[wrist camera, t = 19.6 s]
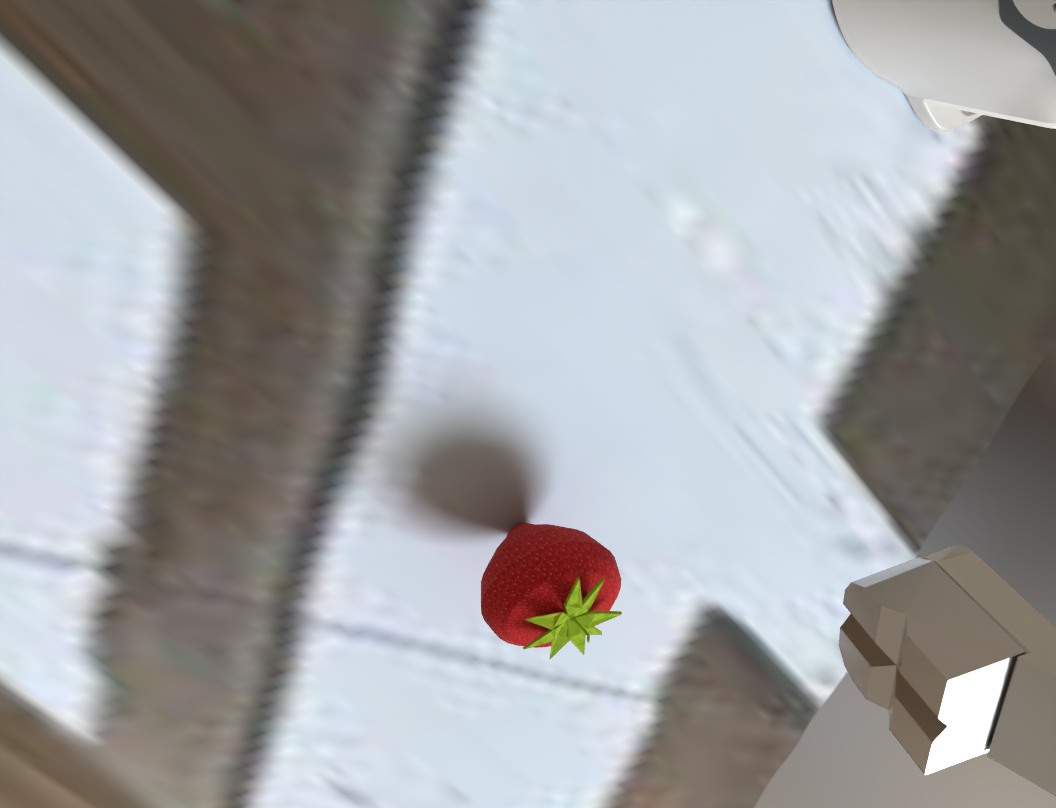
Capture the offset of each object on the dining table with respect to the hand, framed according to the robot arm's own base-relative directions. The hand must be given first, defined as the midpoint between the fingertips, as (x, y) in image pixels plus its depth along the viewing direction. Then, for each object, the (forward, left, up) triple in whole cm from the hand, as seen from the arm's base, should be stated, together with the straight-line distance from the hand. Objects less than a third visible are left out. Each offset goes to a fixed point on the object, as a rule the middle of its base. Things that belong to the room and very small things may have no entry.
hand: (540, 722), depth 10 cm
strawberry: (-6, +25, -31) cm, 40 cm away
